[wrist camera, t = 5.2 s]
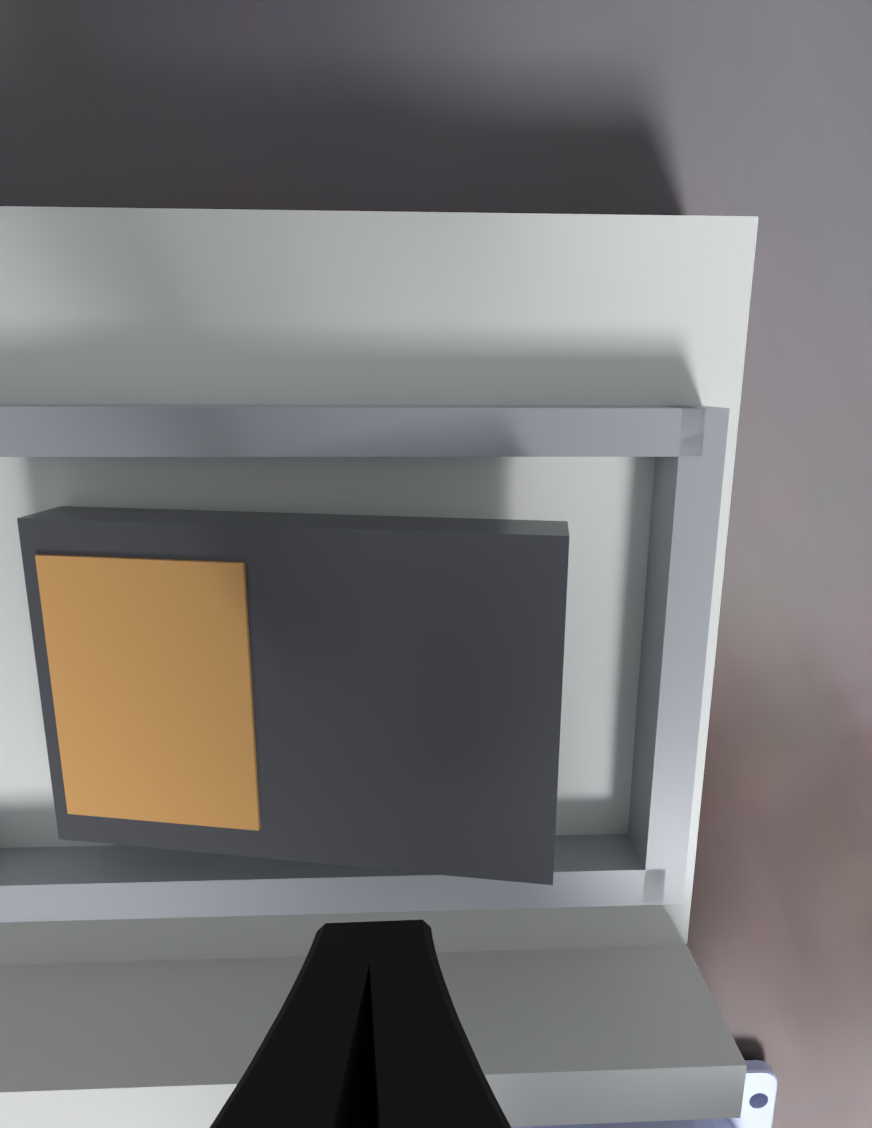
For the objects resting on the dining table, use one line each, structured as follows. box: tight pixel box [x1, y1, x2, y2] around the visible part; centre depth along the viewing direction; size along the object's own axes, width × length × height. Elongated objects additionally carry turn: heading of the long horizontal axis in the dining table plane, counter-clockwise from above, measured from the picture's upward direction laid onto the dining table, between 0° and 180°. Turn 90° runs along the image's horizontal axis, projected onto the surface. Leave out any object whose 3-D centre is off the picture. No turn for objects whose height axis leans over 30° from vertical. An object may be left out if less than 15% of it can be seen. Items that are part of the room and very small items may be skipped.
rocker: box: [17, 506, 569, 885], centre depth 13 cm, size 6×9×1 cm, turn 90°
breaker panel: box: [0, 206, 758, 1128], centre depth 15 cm, size 16×16×6 cm
